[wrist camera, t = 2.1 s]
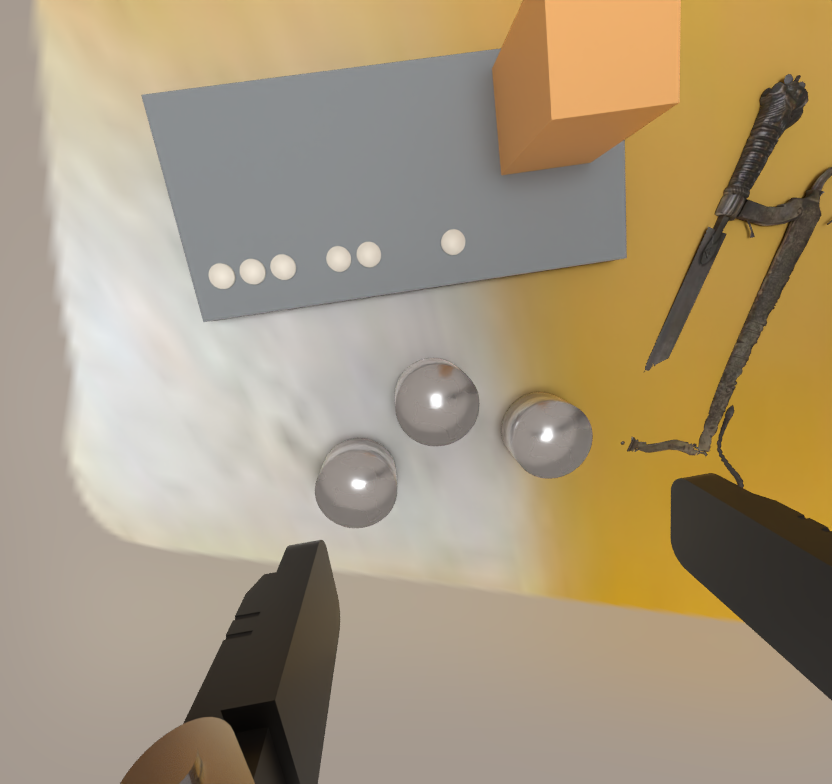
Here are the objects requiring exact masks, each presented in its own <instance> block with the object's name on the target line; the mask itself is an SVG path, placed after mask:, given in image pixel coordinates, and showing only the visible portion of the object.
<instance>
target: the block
mask: <svg viewBox="0 0 832 784" xmlns="http://www.w3.org/2000/svg"><path fill="white" fill-rule="evenodd" d="M680 9H681V0H523V2H522V4H521V6H520V8H519V10H518V13H517V15H516V17H515V19H514V21H513V24H512V26H511V28H510V30H509V32H508V35H507V37H506V39H505V41H504V43H503V46H502V48H501V50H500V52H499V55H498V57H497V59H496V61H495V63H494V66H493V68H492V74H493V86H494V98H495V109H496V121H497V132H498V144H499V156H500V167H501V175H507V174H514V173H521V172H528V171H536V170H543V169H550V168H557V167H564V166H571V165H578V164H585V163H591V162H592V161H594V160H595V159H597V158H598V157H600V156H601V155H603V154H604V153H606V152H607V151H609V150H610V149H612V148H613V147H614V146H616V145H617V144H619V143H620V142H622V141H623V140H625V139H626V138H628V137H629V136H631V135H632V134H634V133H635V132H637V131H638V130H640V129H641V128H642V127H644V126H645V125H647V124H648V123H650V122H651V121H653V120H654V119H656V118H657V117H659V116H660V115H662V114H663V113H665V112H666V111H668V110H669V109H671V108H672V107H673V106H675V105H676V104H678V103H679V90H680Z"/></svg>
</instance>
